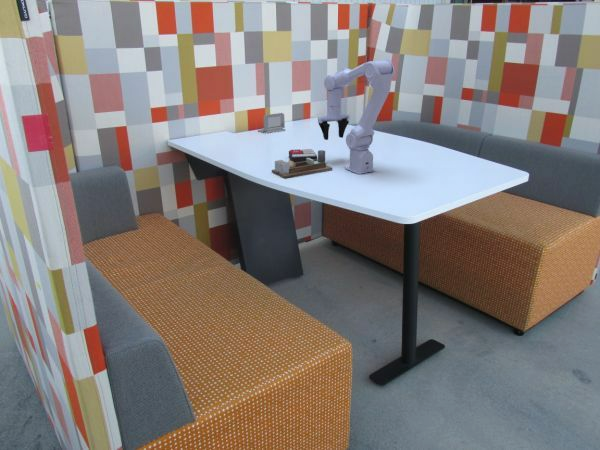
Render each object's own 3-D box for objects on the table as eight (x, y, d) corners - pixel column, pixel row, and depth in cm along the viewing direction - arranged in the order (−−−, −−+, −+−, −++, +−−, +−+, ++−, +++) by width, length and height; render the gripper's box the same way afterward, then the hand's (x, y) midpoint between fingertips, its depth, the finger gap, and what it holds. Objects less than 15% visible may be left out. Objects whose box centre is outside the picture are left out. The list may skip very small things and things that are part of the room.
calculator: (312, 148, 227) (317, 154, 213) (313, 157, 228) (317, 164, 214) (288, 149, 226) (291, 155, 212) (288, 158, 227) (291, 165, 213)
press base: (332, 170, 204) (332, 163, 203) (284, 178, 194) (284, 171, 193) (317, 164, 213) (317, 157, 212) (271, 172, 203) (271, 165, 202)
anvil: (290, 173, 197) (289, 163, 196) (283, 174, 196) (283, 164, 194) (281, 169, 203) (281, 160, 201) (275, 170, 201) (274, 161, 200)
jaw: (327, 165, 207) (327, 151, 204) (311, 168, 203) (311, 154, 201) (321, 163, 210) (321, 149, 208) (306, 165, 207) (306, 152, 204)
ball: (297, 161, 199) (288, 163, 197) (297, 170, 200) (289, 172, 198) (292, 159, 202) (283, 160, 200) (292, 168, 203) (284, 170, 202)
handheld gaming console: (276, 128, 288) (275, 110, 284) (285, 131, 281) (284, 112, 277) (256, 131, 281) (255, 113, 277) (265, 134, 274) (264, 115, 270)
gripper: (342, 102, 213) (342, 134, 218) (313, 105, 206) (313, 138, 211) (352, 104, 208) (351, 137, 213) (323, 108, 201) (323, 141, 206)
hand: (333, 138), depth 212 cm, fingers open, 7 cm apart
